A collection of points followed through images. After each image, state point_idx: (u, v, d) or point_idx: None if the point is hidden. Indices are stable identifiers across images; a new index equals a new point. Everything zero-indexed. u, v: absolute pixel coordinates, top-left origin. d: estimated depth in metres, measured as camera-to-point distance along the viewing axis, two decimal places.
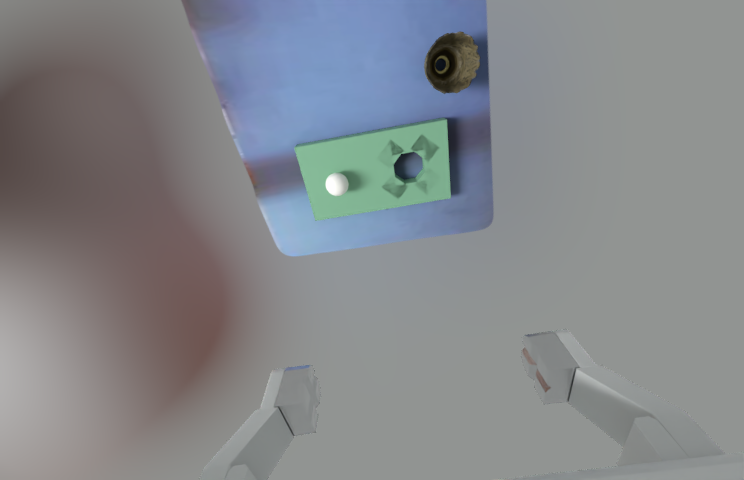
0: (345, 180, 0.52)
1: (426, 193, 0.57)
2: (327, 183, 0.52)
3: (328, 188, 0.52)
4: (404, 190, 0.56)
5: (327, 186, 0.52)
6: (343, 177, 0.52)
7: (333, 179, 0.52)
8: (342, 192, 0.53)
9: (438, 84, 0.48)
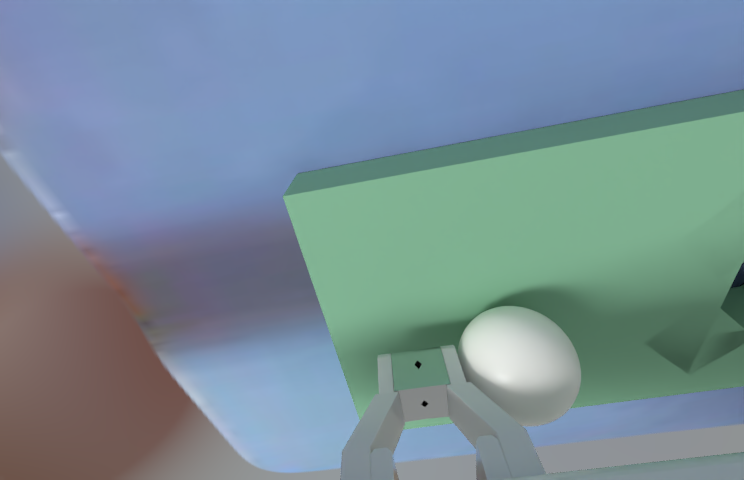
0: None
1: None
2: (512, 392, 0.09)
3: (518, 415, 0.10)
4: (729, 350, 0.14)
5: (512, 407, 0.09)
6: (562, 331, 0.10)
7: (549, 369, 0.09)
8: None
9: None
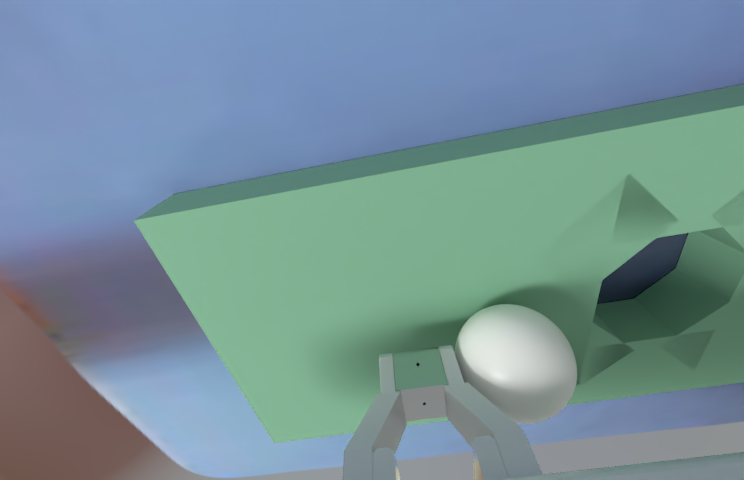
0: (461, 330, 0.12)
1: (692, 368, 0.15)
2: None
3: None
4: (612, 362, 0.14)
5: None
6: (468, 323, 0.11)
7: (511, 304, 0.12)
8: None
9: None
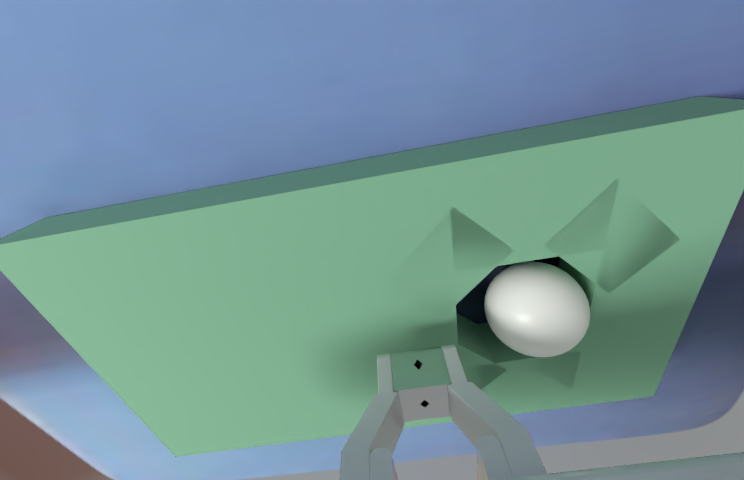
0: None
1: (569, 387, 0.15)
2: (562, 325, 0.11)
3: (568, 342, 0.12)
4: (489, 381, 0.15)
5: (565, 337, 0.11)
6: None
7: (577, 295, 0.12)
8: None
9: None
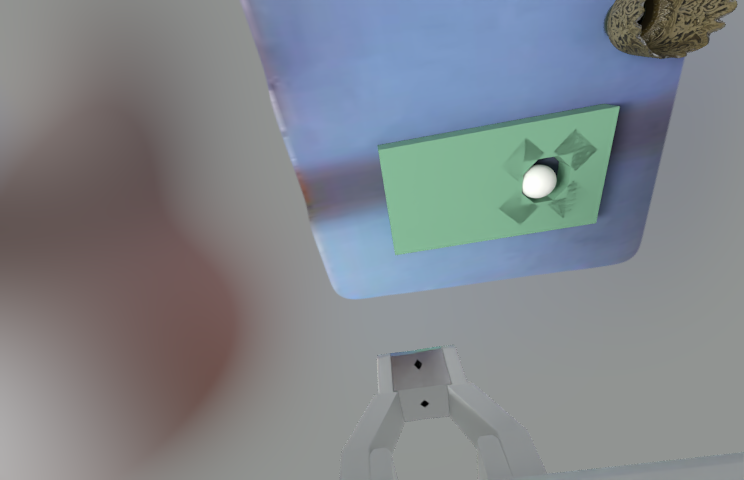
0: (554, 174, 0.36)
1: (562, 216, 0.39)
2: (534, 181, 0.35)
3: (536, 188, 0.35)
4: (531, 212, 0.38)
5: (534, 185, 0.35)
6: (552, 170, 0.36)
7: (545, 174, 0.35)
8: (551, 191, 0.36)
9: None
